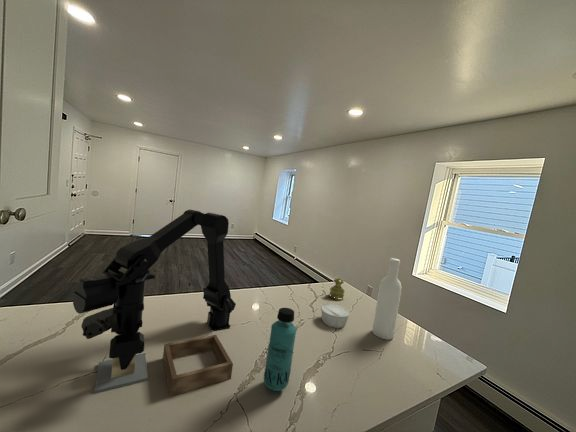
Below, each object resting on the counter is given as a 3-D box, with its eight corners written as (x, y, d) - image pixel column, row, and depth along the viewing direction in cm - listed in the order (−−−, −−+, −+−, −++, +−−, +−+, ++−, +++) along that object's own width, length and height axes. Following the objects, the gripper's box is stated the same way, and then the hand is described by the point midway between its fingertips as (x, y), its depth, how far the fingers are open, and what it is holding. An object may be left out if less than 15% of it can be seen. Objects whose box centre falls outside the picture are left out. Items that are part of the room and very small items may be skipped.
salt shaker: (334, 293, 135) (337, 275, 135) (346, 299, 130) (349, 280, 129) (326, 296, 130) (329, 277, 129) (338, 301, 125) (341, 282, 124)
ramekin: (316, 323, 99) (318, 310, 98) (323, 313, 109) (325, 301, 109) (345, 332, 95) (347, 319, 94) (349, 321, 105) (351, 309, 105)
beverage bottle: (262, 377, 65) (272, 303, 64) (287, 378, 66) (298, 305, 65) (261, 396, 59) (273, 314, 57) (289, 398, 59) (301, 317, 58)
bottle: (395, 342, 93) (408, 263, 91) (373, 336, 94) (386, 259, 93) (391, 331, 101) (403, 258, 99) (371, 327, 102) (382, 255, 100)
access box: (214, 347, 75) (216, 334, 74) (231, 378, 63) (232, 363, 63) (162, 358, 67) (164, 344, 67) (170, 396, 55) (172, 379, 55)
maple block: (133, 361, 63) (136, 339, 63) (134, 373, 60) (136, 349, 59) (112, 366, 61) (114, 342, 61) (111, 378, 57) (113, 353, 57)
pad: (144, 355, 67) (145, 353, 67) (147, 380, 59) (147, 377, 59) (98, 364, 62) (98, 362, 62) (94, 393, 53) (94, 390, 53)
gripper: (91, 287, 63) (86, 347, 63) (80, 323, 47) (73, 401, 48) (142, 284, 69) (137, 338, 70) (147, 315, 53) (140, 384, 54)
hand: (123, 361), depth 60 cm, fingers open, 5 cm apart
